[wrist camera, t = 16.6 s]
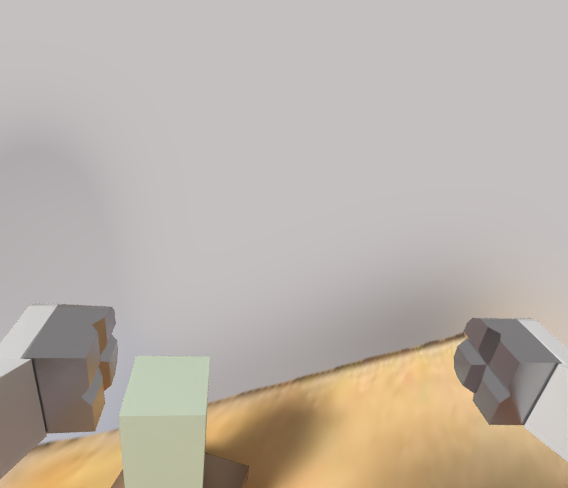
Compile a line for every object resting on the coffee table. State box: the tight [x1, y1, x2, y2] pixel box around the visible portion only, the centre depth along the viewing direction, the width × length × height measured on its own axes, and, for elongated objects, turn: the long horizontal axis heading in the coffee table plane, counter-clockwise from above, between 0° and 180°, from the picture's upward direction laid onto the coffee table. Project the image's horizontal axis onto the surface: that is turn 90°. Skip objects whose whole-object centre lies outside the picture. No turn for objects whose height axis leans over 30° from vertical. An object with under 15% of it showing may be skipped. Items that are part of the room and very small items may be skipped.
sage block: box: [119, 356, 210, 488], centre depth 29 cm, size 5×5×13 cm
